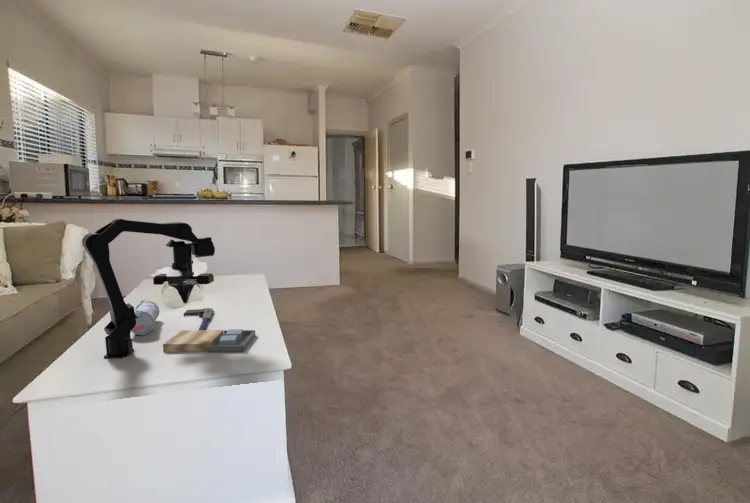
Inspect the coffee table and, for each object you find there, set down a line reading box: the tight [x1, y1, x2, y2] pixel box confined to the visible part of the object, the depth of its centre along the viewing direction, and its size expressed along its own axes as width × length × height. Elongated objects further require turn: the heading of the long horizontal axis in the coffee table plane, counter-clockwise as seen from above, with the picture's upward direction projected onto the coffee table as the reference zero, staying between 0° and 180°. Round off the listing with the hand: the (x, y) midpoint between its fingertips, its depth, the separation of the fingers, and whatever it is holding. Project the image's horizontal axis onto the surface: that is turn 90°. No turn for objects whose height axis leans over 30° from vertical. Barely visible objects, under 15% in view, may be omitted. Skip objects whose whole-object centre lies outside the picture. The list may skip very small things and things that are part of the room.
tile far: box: [225, 328, 244, 341], centre depth 152 cm, size 5×5×2 cm
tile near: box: [219, 335, 238, 346], centre depth 145 cm, size 5×5×2 cm
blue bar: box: [183, 307, 215, 330], centre depth 171 cm, size 34×2×12 cm
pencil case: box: [131, 299, 160, 336], centre depth 165 cm, size 21×9×10 cm, turn 22°
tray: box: [207, 329, 256, 353], centre depth 148 cm, size 11×16×2 cm
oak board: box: [162, 329, 225, 353], centre depth 148 cm, size 15×14×2 cm
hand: (185, 303), depth 151 cm, fingers closed
